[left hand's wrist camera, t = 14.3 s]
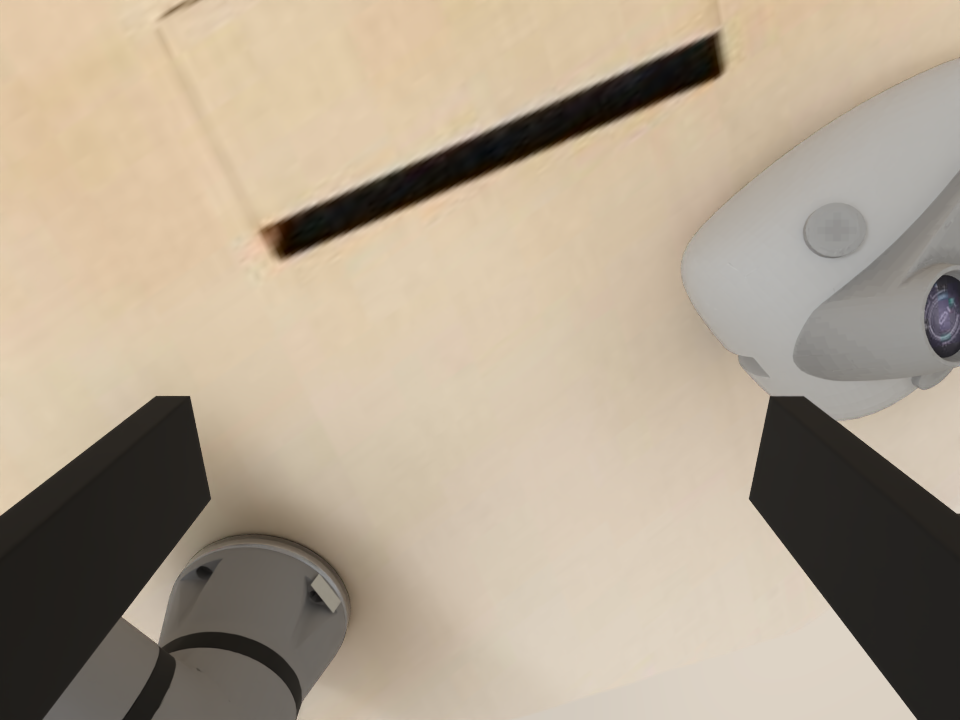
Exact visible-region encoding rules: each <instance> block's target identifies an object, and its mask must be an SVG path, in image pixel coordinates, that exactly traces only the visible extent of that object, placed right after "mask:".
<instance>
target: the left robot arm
mask: <svg viewBox="0 0 960 720" xmlns="http://www.w3.org/2000/svg"><path fill="white" fill-rule="evenodd" d="M210 500H211V496H210V492H209V487H208V482H207V477H206V472H205V467H204V462H203V457H202V453H201V448H200V443H199V438H198V433H197V428H196V423H195V418H194V414H193V409H192V404H191V399H190V396H156V397H154V398H153V399H152V400H150V401H149V402H148V403H146V404H145V405H144V406H143V407H141V408H140V409H139V410H137V411H136V412H135V413H134V414H132V415H131V416H130V417H128V418H127V419H126V420H124V421H123V422H122V423H121V424H119V425H118V426H117V427H115V428H114V429H113V430H111V431H110V432H109V433H108V434H106V435H105V436H104V437H102V438H101V439H100V440H98V441H97V442H96V443H95V444H93V445H92V446H91V447H89V448H88V449H87V450H85V451H84V452H83V453H82V454H80V455H79V456H78V457H76V458H75V459H74V460H72V461H71V462H70V463H69V464H67V465H66V466H65V467H63V468H62V469H61V470H59V471H58V472H57V473H56V474H54V475H53V476H52V477H50V478H49V479H48V480H47V481H45V482H44V483H43V484H41V485H40V486H39V487H37V488H36V489H35V490H34V491H32V492H31V493H30V494H28V495H27V496H26V497H24V498H23V499H22V500H21V501H19V502H18V503H17V504H15V505H14V506H13V507H11V508H10V509H9V510H8V511H6V512H5V513H4V514H2V515H1V516H0V720H296V718H297V715H298V712H299V709H300V706H301V703H302V701H303V700H304V698H305V697H306V695H307V694H308V693H309V691H310V690H311V689H312V687H313V686H314V684H315V683H316V682H317V680H318V679H319V678H320V676H321V675H322V673H323V672H324V671H325V669H326V668H327V666H328V665H329V664H330V662H331V661H332V660H333V658H334V657H335V655H336V654H337V652H338V650H339V648H340V647H341V645H342V642H343V640H344V637H345V633H346V630H347V626H348V622H349V618H350V601H349V596H348V593H347V590H346V588H345V586H344V583H343V582H342V580H341V578H340V577H339V575H338V574H337V573H336V571H335V570H334V569H333V568H332V567H331V566H330V565H329V564H328V563H327V562H326V561H325V560H324V559H323V558H321V557H320V556H319V555H317V554H316V553H314V552H313V551H311V550H309V549H307V548H306V547H304V546H302V545H299V544H297V543H295V542H292V541H289V540H286V539H282V538H278V537H274V536H268V535H239V536H232V537H228V538H224V539H222V540H219V541H216V542H214V543H212V544H210V545H208V546H206V547H205V548H203V549H202V550H200V551H199V552H198V553H197V554H196V555H195V556H194V557H193V558H192V559H191V560H190V561H189V562H188V564H187V565H186V567H185V568H184V569H183V571H182V572H181V574H180V575H179V577H178V578H177V580H176V582H175V584H174V586H173V589H172V592H171V594H170V598H169V602H168V606H167V610H166V614H165V618H164V622H163V626H162V631H161V635H160V639H159V643H158V644H156V643H155V642H154V641H152V640H151V639H150V638H148V637H147V636H146V635H145V634H143V633H142V632H141V631H139V630H138V629H137V628H135V627H134V626H133V625H131V624H130V623H129V622H127V621H126V620H125V619H123V618H122V617H121V616H122V615H123V614H124V612H125V611H126V610H127V608H128V607H129V606H130V604H131V603H132V602H133V601H134V599H135V598H136V597H137V595H138V594H139V593H140V591H141V590H142V589H143V587H144V586H145V585H146V584H147V582H148V581H149V580H150V578H151V577H152V576H153V574H154V573H155V572H156V570H157V569H158V568H159V567H160V565H161V564H162V563H163V561H164V560H165V559H166V557H167V556H168V555H169V553H170V552H171V551H172V549H173V548H174V547H175V546H176V544H177V543H178V542H179V540H180V539H181V538H182V536H183V535H184V534H185V532H186V531H187V530H188V529H189V527H190V526H191V525H192V523H193V522H194V521H195V519H196V518H197V517H198V515H199V514H200V513H201V511H202V510H203V509H204V508H205V506H206V505H207V504H208V502H209V501H210ZM749 500H750V501H751V502H752V504H753V505H754V506H755V508H756V509H757V510H758V511H759V513H760V514H761V515H762V517H763V518H764V519H765V521H766V522H767V523H768V525H769V526H770V527H771V529H772V530H773V531H774V532H775V534H776V535H777V536H778V538H779V539H780V540H781V542H782V543H783V544H784V546H785V547H786V548H787V549H788V551H789V552H790V553H791V555H792V556H793V557H794V559H795V560H796V561H797V563H798V564H799V565H800V567H801V568H802V569H803V570H804V572H805V573H806V574H807V576H808V577H809V578H810V580H811V581H812V582H813V584H814V585H815V586H816V587H817V589H818V590H819V591H820V593H821V594H822V595H823V597H824V598H825V599H826V601H827V602H828V603H829V604H830V606H831V607H832V608H833V610H834V611H835V612H836V614H837V615H838V616H839V618H840V619H841V620H842V621H843V623H844V624H845V625H846V627H847V628H848V629H849V631H850V632H851V633H852V635H853V636H854V637H855V639H856V640H857V641H858V642H859V644H860V645H861V646H862V648H863V649H864V650H865V652H866V653H867V654H868V656H869V657H870V658H871V660H872V661H873V662H874V663H875V665H876V666H877V667H878V669H879V670H880V671H881V672H882V674H883V675H884V677H885V678H886V679H887V680H888V682H889V683H890V684H891V686H892V687H893V688H894V690H895V691H896V692H897V694H898V695H899V696H900V697H901V699H902V700H903V701H904V703H905V704H906V705H907V707H908V708H909V709H910V711H911V712H912V713H913V715H914V716H915V717H916V718H917V720H960V514H956V513H955V512H954V511H952V510H951V509H950V508H949V507H947V506H946V505H945V504H943V503H942V502H941V501H939V500H938V499H937V498H936V497H934V496H933V495H932V494H930V493H929V492H928V491H926V490H925V489H924V488H923V487H921V486H920V485H919V484H917V483H916V482H915V481H913V480H912V479H911V478H910V477H908V476H907V475H906V474H904V473H903V472H902V471H901V470H899V469H898V468H897V467H895V466H894V465H893V464H891V463H890V462H889V461H888V460H886V459H885V458H884V457H882V456H881V455H880V454H878V453H877V452H876V451H875V450H873V449H872V448H871V447H869V446H868V445H867V444H865V443H864V442H863V441H862V440H860V439H859V438H858V437H856V436H855V435H854V434H852V433H851V432H850V431H849V430H847V429H846V428H845V427H843V426H842V425H841V424H839V423H838V422H837V421H836V420H834V419H833V418H832V417H830V416H829V415H828V414H826V413H825V412H824V411H823V410H821V409H820V408H819V407H817V406H816V405H815V404H814V403H812V402H811V401H810V400H808V399H807V398H806V397H804V396H770V399H769V404H768V409H767V414H766V418H765V423H764V428H763V433H762V438H761V443H760V448H759V453H758V457H757V462H756V467H755V472H754V477H753V482H752V487H751V492H750V496H749Z"/></svg>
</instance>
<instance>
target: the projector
mask: <svg viewBox="0 0 960 720" xmlns="http://www.w3.org/2000/svg"><path fill="white" fill-rule="evenodd" d="M681 275H682V281H683V285H684V288H685V290H686V292H687V295H688V297H689V299H690V301H691V302H692V304H693V306H694V307H695V309H696V311H697V312H698V314H699V315H700V317H701V318H702V320H703V321H704V322H705V324H706V325H707V326H708V328H709V329H710V330H711V331H712V333H713V334H714V335H715V336H716V338H717V339H718V340H719V341H720V342H721V344H722V345H723V346H724V347H725V348H726V349H727V350H729V351H730V352H732V353H734V354H737V355H738V360H739V363H740V365H741V366H742V368H743V369H744V370H745V371H746V372H747V373H748V374H749V375H750V376H751V377H752V379H753V380H754V381H755V382H756V383H757V384H758V385H759V386H760V387H761V388H762V389H763V390H764V391H766V392H767V393H768V394H769V395H770V396H804V397H806V398H807V399H808V400H810V401H811V402H812V403H814V404H815V405H816V406H817V407H819V408H820V409H821V410H823V411H824V412H825V413H826V414H828V415H829V416H830V417H832V418H833V419H834V420H836V421H844V420H850V419H857V418H860V417H864V416H867V415H870V414H873V413H876V412H878V411H880V410H882V409H884V408H887V407H889V406H891V405H893V404H894V403H896V402H898V401H899V400H901V399H902V398H904V397H906V396H907V395H909V394H910V393H912V392H913V391H914V390H915V389H917V388H920V389H922V390H926V389H929V388H931V387H933V386H935V385H936V384H938V383H939V382H941V381H942V380H943V379H944V378H945V377H946V376H947V375H948V374H949V373H950V372H951V370H952V369H953V368H955V367H959V366H960V57H959V58H957V59H954V60H951V61H948V62H946V63H943V64H940V65H938V66H936V67H934V68H931V69H929V70H927V71H924V72H922V73H920V74H918V75H915V76H913V77H911V78H909V79H907V80H905V81H903V82H901V83H899V84H897V85H895V86H893V87H891V88H889V89H887V90H885V91H883V92H881V93H879V94H878V95H876V96H874V97H872V98H870V99H868V100H867V101H865V102H863V103H861V104H860V105H858V106H856V107H855V108H853V109H851V110H849V111H848V112H846V113H844V114H843V115H841V116H840V117H838V118H837V119H835V120H833V121H832V122H830V123H829V124H827V125H826V126H824V127H823V128H821V129H820V130H818V131H817V132H815V133H814V134H812V135H811V136H809V137H808V138H807V139H805V140H804V141H802V142H801V143H800V144H798V145H797V146H796V147H794V148H793V149H791V150H790V151H789V152H787V153H786V154H785V155H783V156H782V157H781V158H779V159H778V160H777V161H775V162H774V163H773V164H772V165H770V166H769V167H768V168H767V169H765V170H764V171H763V172H761V173H760V174H759V175H758V176H756V177H755V178H754V179H753V180H752V181H750V182H749V183H748V184H747V185H746V186H744V187H743V188H742V189H741V190H740V191H739V192H737V193H736V194H735V195H734V196H733V197H732V198H730V199H729V200H728V201H727V202H726V203H725V204H724V205H723V206H722V207H721V208H719V209H718V210H717V211H716V212H715V213H714V214H713V215H712V216H711V217H710V218H709V219H708V220H707V221H706V222H705V223H704V224H703V226H702V227H701V228H700V229H699V230H698V231H697V233H696V234H695V235H694V236H693V238H692V239H691V241H690V242H689V244H688V245H687V247H686V249H685V251H684V254H683V257H682V261H681Z"/></svg>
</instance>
